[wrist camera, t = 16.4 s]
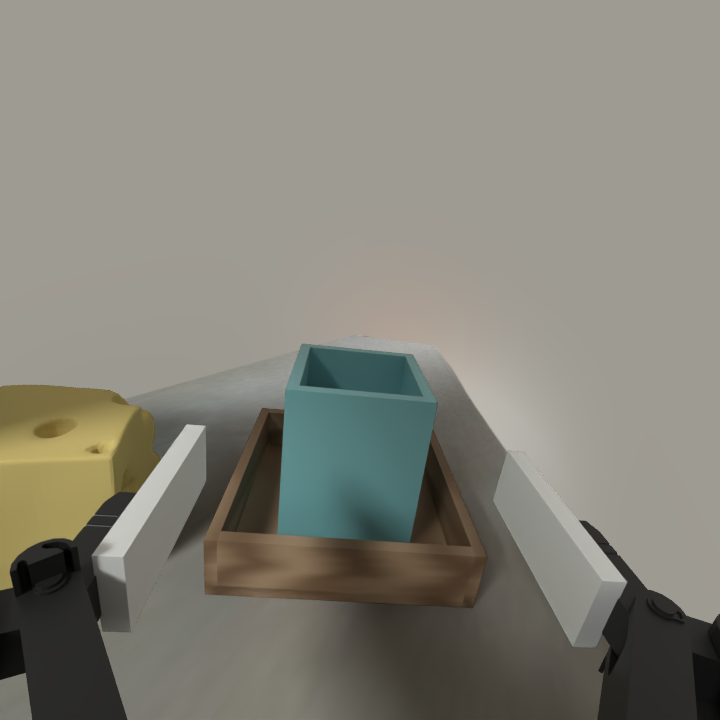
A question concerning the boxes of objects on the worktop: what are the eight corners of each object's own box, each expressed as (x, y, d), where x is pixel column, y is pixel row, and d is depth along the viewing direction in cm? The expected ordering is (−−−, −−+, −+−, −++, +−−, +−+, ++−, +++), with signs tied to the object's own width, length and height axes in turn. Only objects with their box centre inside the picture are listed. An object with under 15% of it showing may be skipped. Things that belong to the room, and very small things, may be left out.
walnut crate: (204, 594, 25) (203, 539, 24) (260, 445, 42) (262, 408, 41) (472, 607, 27) (487, 557, 25) (423, 457, 44) (430, 422, 42)
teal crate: (277, 541, 29) (285, 389, 25) (293, 463, 39) (301, 343, 34) (408, 549, 30) (437, 403, 26) (393, 471, 39) (412, 354, 35)
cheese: (163, 485, 35) (156, 382, 31) (129, 592, 25) (114, 459, 22) (23, 494, 32) (-1, 382, 29) (-77, 619, 22) (-130, 471, 19)
